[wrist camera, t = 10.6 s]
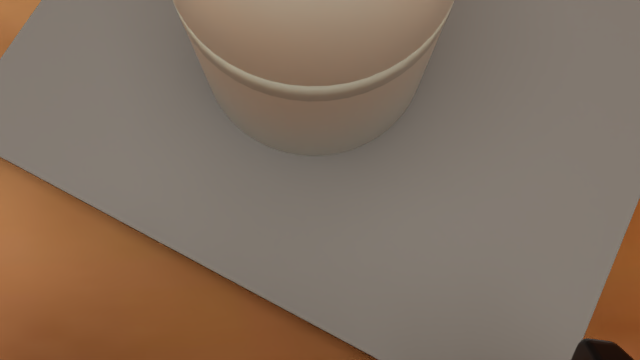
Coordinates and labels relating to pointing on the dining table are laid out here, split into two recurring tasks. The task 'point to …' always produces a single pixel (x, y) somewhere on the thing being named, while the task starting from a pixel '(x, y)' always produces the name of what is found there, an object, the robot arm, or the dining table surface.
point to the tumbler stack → (313, 65)
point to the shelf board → (361, 172)
